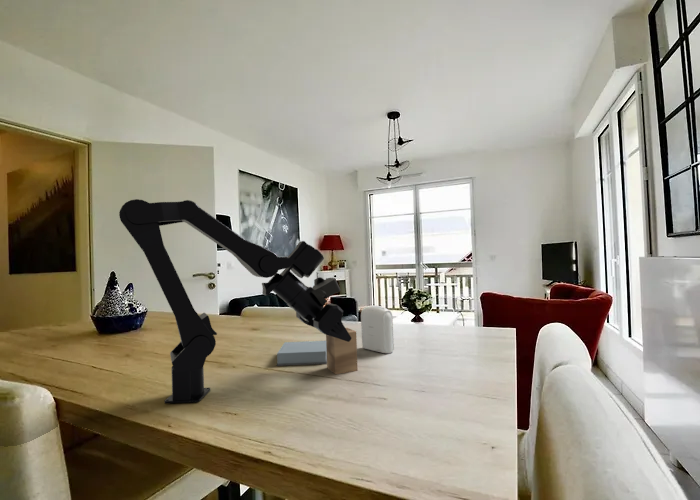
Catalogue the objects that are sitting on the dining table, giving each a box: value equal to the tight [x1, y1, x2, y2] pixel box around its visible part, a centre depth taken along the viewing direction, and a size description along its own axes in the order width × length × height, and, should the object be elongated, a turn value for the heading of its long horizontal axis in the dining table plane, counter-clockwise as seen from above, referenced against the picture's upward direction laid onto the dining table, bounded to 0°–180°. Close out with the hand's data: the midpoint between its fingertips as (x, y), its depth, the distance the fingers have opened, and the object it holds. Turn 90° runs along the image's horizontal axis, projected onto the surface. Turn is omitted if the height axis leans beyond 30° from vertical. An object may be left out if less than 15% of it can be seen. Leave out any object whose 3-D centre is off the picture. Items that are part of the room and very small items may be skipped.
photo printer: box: [360, 305, 395, 354], centre depth 102 cm, size 10×4×12 cm, turn 39°
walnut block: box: [325, 327, 359, 375], centre depth 86 cm, size 6×6×9 cm
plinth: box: [276, 340, 327, 367], centre depth 97 cm, size 12×12×3 cm
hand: (342, 336), depth 86 cm, fingers open, 9 cm apart
